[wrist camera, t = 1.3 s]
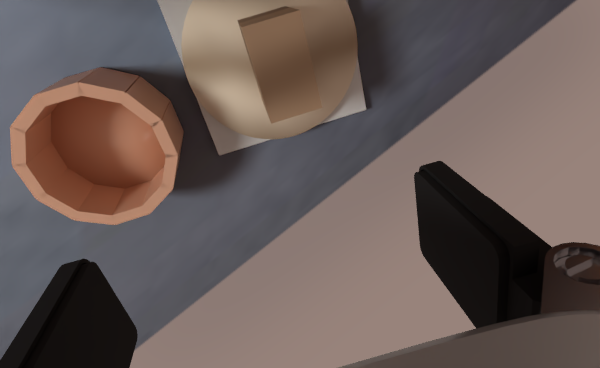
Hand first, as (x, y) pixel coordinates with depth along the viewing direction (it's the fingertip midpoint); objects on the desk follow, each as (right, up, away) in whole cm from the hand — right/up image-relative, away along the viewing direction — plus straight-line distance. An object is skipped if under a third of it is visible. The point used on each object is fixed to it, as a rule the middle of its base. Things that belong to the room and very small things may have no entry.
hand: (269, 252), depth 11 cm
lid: (-1, +12, +18) cm, 21 cm away
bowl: (-14, +6, +19) cm, 24 cm away
